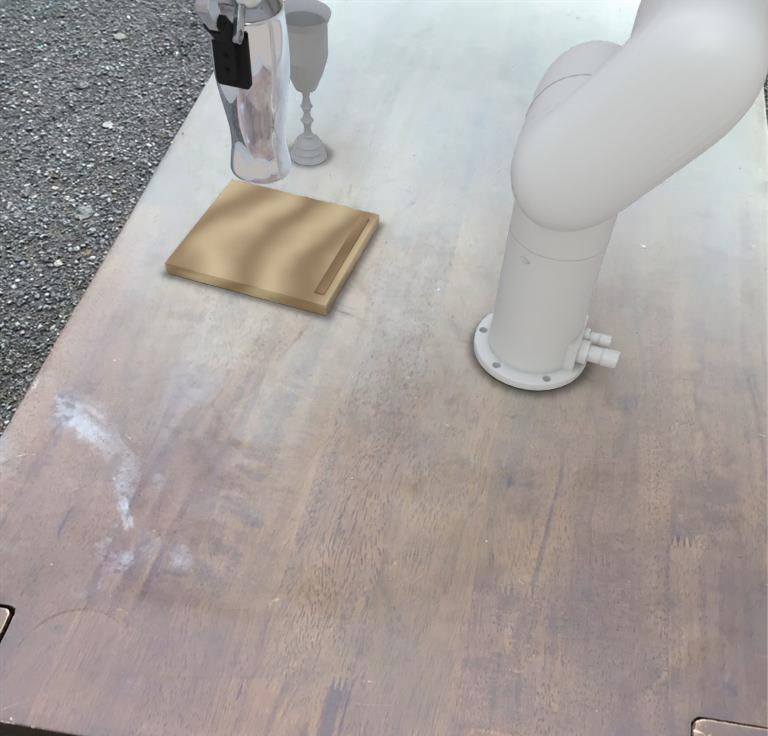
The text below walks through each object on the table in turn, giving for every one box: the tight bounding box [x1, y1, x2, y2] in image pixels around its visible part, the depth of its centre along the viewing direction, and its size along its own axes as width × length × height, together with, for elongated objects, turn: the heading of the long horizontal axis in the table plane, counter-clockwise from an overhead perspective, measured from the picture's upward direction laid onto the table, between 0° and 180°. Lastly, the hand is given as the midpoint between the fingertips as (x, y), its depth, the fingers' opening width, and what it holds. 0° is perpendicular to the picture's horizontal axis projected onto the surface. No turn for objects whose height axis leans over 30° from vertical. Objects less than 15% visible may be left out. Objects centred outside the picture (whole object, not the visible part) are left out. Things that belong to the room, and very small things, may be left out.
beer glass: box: [209, 0, 293, 185], centre depth 76 cm, size 7×7×15 cm
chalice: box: [283, 0, 332, 166], centre depth 103 cm, size 7×7×18 cm
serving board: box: [164, 178, 380, 317], centre depth 98 cm, size 20×18×2 cm
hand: (252, 63), depth 73 cm, fingers closed on beer glass, 7 cm apart
